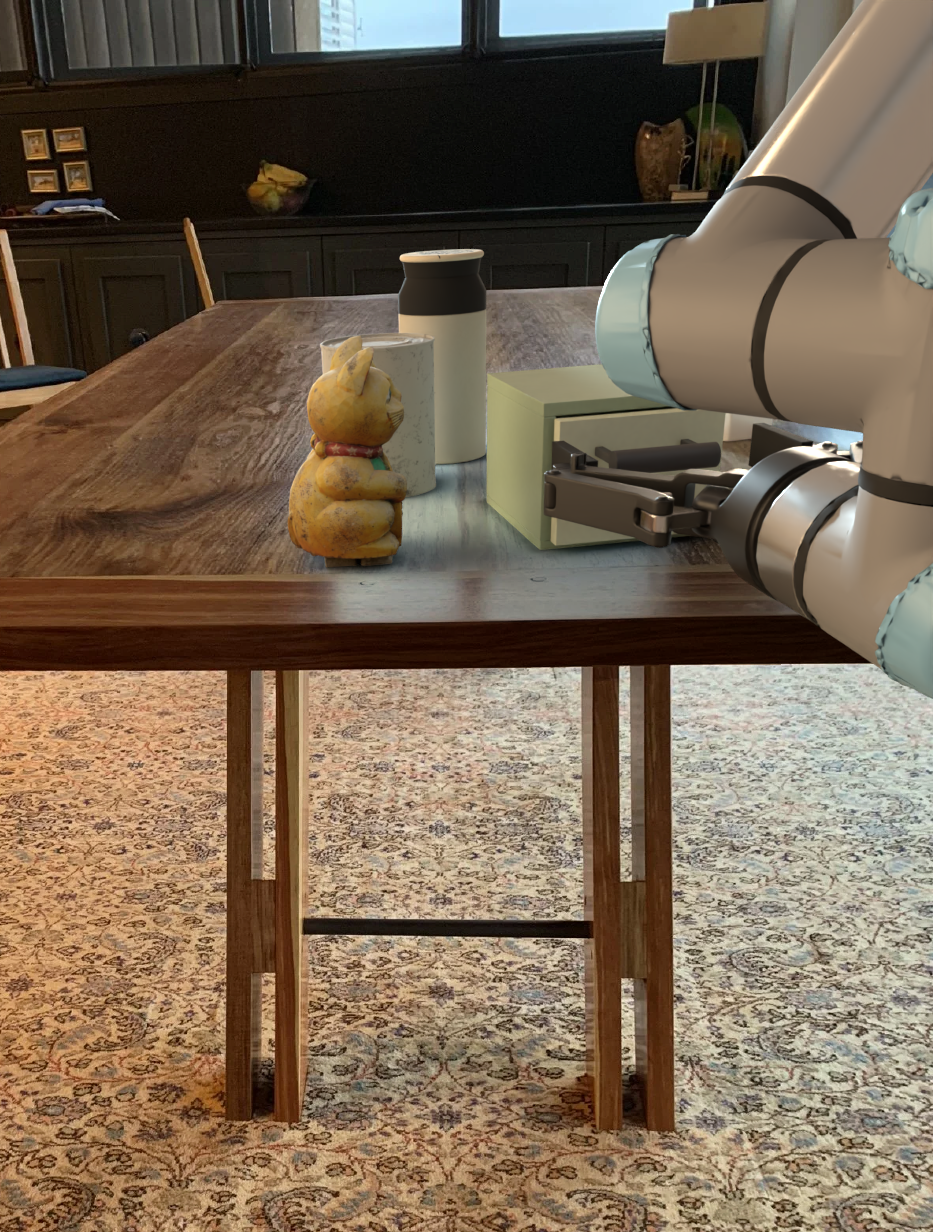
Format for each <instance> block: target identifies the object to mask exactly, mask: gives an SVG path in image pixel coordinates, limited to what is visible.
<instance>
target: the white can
mask: <svg viewBox="0 0 933 1232" xmlns="http://www.w3.org/2000/svg"><path fill="white" fill-rule="evenodd" d="M354 336H361V338H362V350H363V349H365V348H367V347H373V348H374V353H373V362H374V363H375V365H376V368H377V369H380V370H381V371H383V372H384V373H386V374H388V375H389V377H390V378H391V380H392V382H393V384H394V386H395V387H396V388H397V389H398V390H399V391H400V392H401V396H402V397H401V403H402V405H403V407H404V419H403V421H402V423H401V424H400V426H399V427H398V429H397V430H396V431H395V433H394V434H393V436H392V438H391V439H390V440H389V441H388V442H387V443H385V444H383V445H382V448H383V452H384V453H385V455H386V456H387V458H388V460H389V462H390V465H391V467H392V470H393V472H395V473H398V474H403V475H404V477H405V478H406V481H407V493H406V497H405V498H411V497H415V496H419V495H422V494H426V493H429V492H430V491H432V490H434V489H436V487H437V482H436V481H437V479H436V464H435V405H434V341H435V337H434V336H432V335H427V334H419V333H399V332H381V333H366V334H355V335H346V336H339V337H335V338H330V339H327V340H324V341H321V342H320V344H319V348H320V350H321V351H320V352H321V369H322V375H323V374H325V373H327V372H329V371H330V365H331V359H332V357H333V355H334V353H335V351H336V350H337V348H338V347H339V346H340V345H341V344H342V343H343V342H344V341H346V340H347V339H349V338H351V337H354Z"/></svg>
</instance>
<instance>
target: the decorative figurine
mask: <svg viewBox="0 0 933 1232" xmlns="http://www.w3.org/2000/svg"><path fill="white" fill-rule="evenodd" d="M353 336H354V335H353ZM373 353H374V348H373V347H367V348H365V349H363V350H362V338H361V336H354V337H351V338H349V339H347V340H346V341H344V342H343V343H342V344H341V345H340V346H339V347H338V348H337V350H336V351H335V353H334V355H333V357H332V359H331V365H330V371H329V372H327V373H325V374H323V373H322V375H320V376H319V377H318V378H317V379H316V381H315V382H314V383H313V384H312V385H311V387H310V390H309V392H308V396H307V401H306V410H307V420H308V423H309V425H310V428H311V431H312V432H313V434H312V436H310V440H309V444H310V447H311V448H312V449H311V451H310V452H309V454H308V455H307V457H306V460H305V461H304V462H303V463H302V464H301V466H300V468H299V469H298V471H296V474H295V477H294V479H293V481H292V484H291V487H290V490H289V498H288V516H287V521H286V522H287V530H288V535H289V539H290V540H291V542H292V544H293V545H294V546H295V548H296V549H302V551H304V552H306V553H309V554H310V555H311V556H312V557H318V556H319V557H322V558H324V566H325V568H340V567H352V566H353V567H356V566H359V565H361V566H364V567H367V566H368V567H369V566H379V565H390V564H393V557H394V556H396V555H397V553H398V551H399V548H400V547H401V546H402V543H403V542H402V541H403V515H404V512H403V508H404V506H403V505H404V504H403V503H404V500H405V499H406V498H407V497H406V493H407V481H406V478H405V477H404V475H403V474H398V473H395V472H393V470H392V467H391V465H390V462H389V460H388V458H387V456H386V455H385V453H384V452H383V448H382V445H383V444H385V443H387V442H388V441H389V440H390V439H391V438H392V436H393V434H394V433H395V431H396V430H397V429H398V427H399V426H400V424H401V423H402V421H403V419H404V407H403V405H402V403H401V397H402V396H401V392H400V391H399V390H398V389H397V388H396V387H395V386H394V384H393V382H392V380H391V378H390V377H389V375H388V374H386V373H384V372H383V371H381V370H380V369H377V368H376V365H375V363H374V362H373Z"/></svg>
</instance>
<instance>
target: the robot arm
mask: <svg viewBox="0 0 933 1232" xmlns="http://www.w3.org/2000/svg"><path fill="white" fill-rule="evenodd" d="M931 176H933V0H861V2H860V3H859V4H858V6H857V7H856V9H855V10H854V12H852V14H851V15H850V17H849V18H848V19H847V21H846V23H845V24H844V25H843V27H842V28H841V29H840V31H839V32H838V34H837V35H836V36H835V38H834V39H833V40H832V42H831V43H830V44H829V46H828V47H827V48H826V49H825V51H824V53H823V54H822V55H821V56H820V58H819V60H818V61H817V62H816V63H815V65H814V67H813V68H812V69H811V71H810V72H809V73H808V75H807V76H806V78H805V79H804V80H803V82H802V84H801V85H800V86H799V87H798V89H797V90H796V92H795V93H794V94H793V96H792V97H791V99H790V100H789V101H788V103H787V104H786V106H784V108H783V109H782V111H781V112H780V113H779V115H778V117H776V119H775V120H774V122H773V124H772V125H771V126H770V127H769V129H768V130H767V132H766V133H765V134H764V136H763V137H762V139H761V140H760V141H759V143H758V144H757V145H756V147H755V148H754V150H753V151H752V152H751V154H750V155H749V157H748V158H747V159H746V161H745V162H744V163H743V165H742V166H741V168H740V169H739V171H738V172H737V173H736V174H735V176H734V177H733V179H731V181H730V183H729V184H728V185H727V187H726V189H724V192H723V194H722V196H721V198H719V199H718V200H717V201H716V202H715V204H714V205H713V206H712V208H711V209H710V211H708V213H707V215H706V216H705V218H704V219H703V220H702V222H701V223H700V224H699V226H698V227H697V229H696V230H695V232H693V233H692V234H691V235H689V236H687V234H680V233H677V234H671V233H670V234H669V235H667V236H666V237H662V238H654V239H650V240H647V241H644V242H642V243H640V244H639V245H637V246H635V247H634V248H633V249H631V250H628V251H627V252H626V253H625V254H623V255H622V256H621V258H620V259H619V260H618V261H617V262H616V263H615V265H614V266H613V267H612V269H611V270H610V273H609V274H608V276H607V278H606V280H605V282H604V285H603V288H602V290H601V293H600V296H599V299H598V303H597V307H596V314H595V321H594V322H595V323H594V333H595V334H594V335H595V345H596V351H597V354H598V357H599V360H600V364H602V365H603V368H604V369H605V370H606V373H607V375H608V378H610V379H611V380H612V382H613V383H614V384H615V385H616V386H617V387H619V388H620V389H621V390H623V391H624V392H625V393H627V394H630V395H632V396H635V397H638V398H642V399H646V400H649V401H653V402H657V403H660V404H664V405H668V406H671V407H675V408H678V409H681V410H683V411H686V410H689V411H696V410H698V409H699V410H707V411H714V412H722V413H730V414H738V415H746V416H754V417H762V418H770V419H773V420H779V421H784V422H788V423H796V424H798V425H804V426H810V427H811V426H812V427H820V428H825V429H833V430H840V431H847V432H852V433H853V432H854V433H860V434H862V440H856V442H855V441H854V442H851V443H850V445H849V450H838V448H839V444H837V443H833V442H832V441H823V442H820V443H817V444H815V443H814V441H813V440H811V439H808V438H807V437H803V436H801V435H798V434H795V433H793V432H790V431H787V430H785V429H782V428H779V427H776V426H774V425H772V426H771V425H769V424H766V423H755V424H753V428H752V437H751V439H750V447H749V448H750V449H749V457H748V466H749V467H751V468H750V469H742V468H731V469H729V470H728V471H720V472H719V471H710V470H701V469H688V470H686V471H683V472H681V473H679V474H677V475H676V476H673V475H664V474H655V473H646V472H637V471H629V470H620V469H611V468H602V467H598V460H596V459H594V458H593V457H591V456H589V455H587V453H584V452H582V451H581V450H579V449H577V448H575V447H574V446H572V445H570V444H569V443H567V442H565V441H553V442H552V466H551V471H547V472H545V473H544V508H543V514H544V515H546V516H549V517H553V518H557V519H561V520H565V521H570V522H574V523H578V524H582V525H586V526H590V527H594V528H598V529H602V530H606V531H610V532H614V533H618V534H622V535H626V536H630V537H634V538H636V539H638V540H639V541H640V542H642V543H644V544H646V545H648V546H650V547H654V548H658V549H662V548H667V547H669V546H671V544H672V537H671V533H672V531H673V532H674V533H677V534H682V535H689V536H688V537H697V538H698V537H699V538H704V539H710V540H712V541H713V542H714V543H715V544H717V545H719V547H720V549H721V551H722V554H723V555H724V558H725V559H726V561H727V564H728V566H730V568H731V570H732V571H733V572H734V573H735V574H736V575H737V576H738V577H739V578H740V579H741V580H743V581H744V582H746V583H747V584H749V585H750V586H752V587H754V588H755V589H756V590H758V591H760V592H761V593H763V594H764V595H766V596H767V597H769V598H771V599H773V600H774V601H777V602H779V603H780V604H782V605H784V606H785V607H787V608H789V610H792V611H793V612H795V613H796V614H798V615H800V616H802V617H803V618H805V619H806V620H808V621H810V622H811V623H813V624H814V625H815V626H816V627H818V628H820V629H821V630H822V631H824V632H825V633H827V634H828V635H830V636H831V637H833V639H835V640H837V641H839V642H840V643H842V644H843V645H845V646H846V647H848V648H849V649H851V650H852V651H853V652H855V653H856V654H858V655H859V656H861V657H862V658H864V659H865V660H867V661H868V662H869V663H871V664H873V665H874V666H876V667H877V668H878V669H880V670H882V672H883V673H884V674H885V675H887V678H889V679H890V680H892V681H893V682H896V683H898V684H899V685H901V686H903V687H907V688H910V689H912V690H914V691H916V692H918V693H919V694H921V695H923V696H925V697H927V698H930V699H932V700H933V187H929V188H924V189H923V187H924V185H925V184H926V183H927V182H928V180H929V179H930V177H931ZM893 229H894V231H893V233H892V234H891V235H890V236H889V234H890V233H891V231H892V230H893ZM888 236H889V237H888ZM695 484H703V485H707V486H706V487H705V488H704V489H703V490H702V491H701V492H700V493H699V494H698V495H697V496H696V497H695V499H694V496H695Z"/></svg>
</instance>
